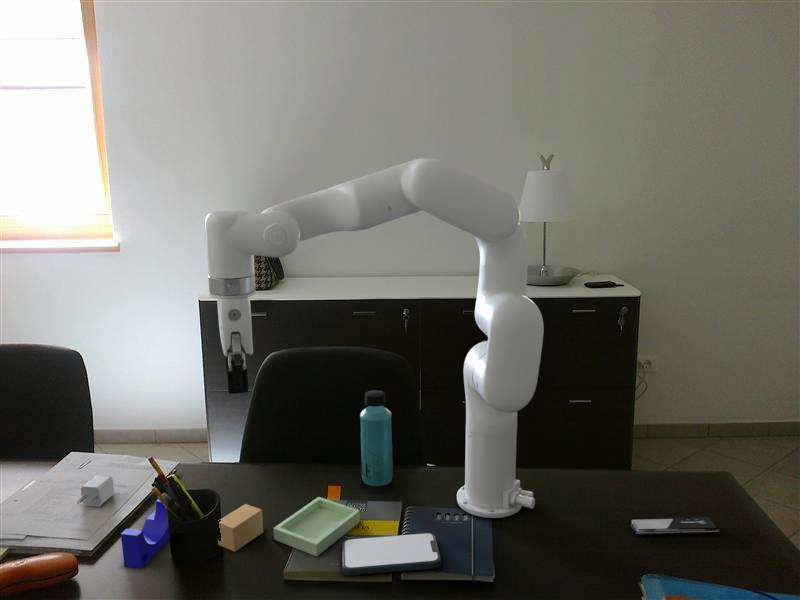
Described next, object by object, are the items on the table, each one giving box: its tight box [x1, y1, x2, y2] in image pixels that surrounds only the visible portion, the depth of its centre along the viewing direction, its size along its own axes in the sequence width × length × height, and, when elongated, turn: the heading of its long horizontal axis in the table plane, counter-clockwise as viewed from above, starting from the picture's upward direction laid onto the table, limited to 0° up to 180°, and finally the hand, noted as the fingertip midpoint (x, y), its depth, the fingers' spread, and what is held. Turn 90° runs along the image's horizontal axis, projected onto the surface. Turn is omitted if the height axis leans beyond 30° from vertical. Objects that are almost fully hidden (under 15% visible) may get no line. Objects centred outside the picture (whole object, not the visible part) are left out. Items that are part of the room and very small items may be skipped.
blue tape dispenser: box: [120, 498, 171, 569], centre depth 116 cm, size 12×4×6 cm, turn 168°
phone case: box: [341, 532, 442, 576], centre depth 113 cm, size 9×2×16 cm
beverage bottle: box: [359, 389, 394, 487], centre depth 135 cm, size 6×7×20 cm
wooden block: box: [217, 503, 264, 553], centre depth 119 cm, size 4×7×4 cm, turn 148°
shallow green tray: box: [273, 496, 361, 557], centre depth 121 cm, size 10×13×2 cm
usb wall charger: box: [76, 475, 115, 507], centre depth 131 cm, size 4×7×4 cm, turn 170°
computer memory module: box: [629, 516, 721, 536], centre depth 120 cm, size 15×1×4 cm
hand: (237, 382), depth 117 cm, fingers open, 9 cm apart
